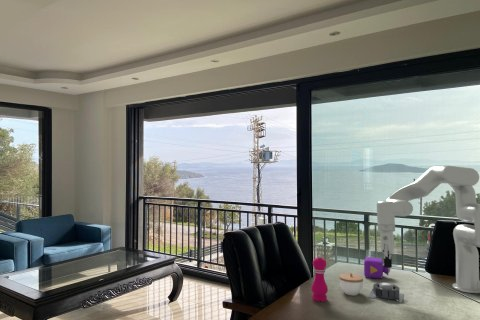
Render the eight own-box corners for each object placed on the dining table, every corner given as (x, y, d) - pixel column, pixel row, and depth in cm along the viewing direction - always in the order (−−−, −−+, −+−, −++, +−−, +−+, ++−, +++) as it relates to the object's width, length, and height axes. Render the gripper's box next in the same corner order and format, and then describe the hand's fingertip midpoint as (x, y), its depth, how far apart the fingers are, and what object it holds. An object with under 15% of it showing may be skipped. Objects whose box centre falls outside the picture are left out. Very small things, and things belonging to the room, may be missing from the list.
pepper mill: (328, 297, 161) (328, 253, 162) (327, 302, 155) (326, 256, 155) (312, 295, 164) (312, 252, 164) (310, 300, 157) (310, 255, 157)
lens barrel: (403, 294, 165) (403, 285, 166) (402, 303, 155) (401, 293, 155) (372, 289, 172) (372, 280, 172) (368, 297, 162) (368, 287, 162)
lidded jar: (364, 291, 170) (364, 271, 170) (361, 298, 160) (361, 277, 160) (341, 288, 174) (341, 269, 174) (337, 295, 164) (337, 274, 165)
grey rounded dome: (393, 292, 165) (393, 283, 165) (392, 296, 159) (392, 287, 160) (380, 290, 168) (380, 281, 168) (378, 294, 162) (378, 284, 162)
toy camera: (392, 280, 187) (392, 261, 187) (365, 278, 190) (364, 260, 190) (387, 274, 198) (387, 256, 198) (362, 273, 200) (362, 255, 201)
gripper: (393, 230, 156) (395, 272, 156) (396, 225, 169) (398, 263, 169) (375, 229, 160) (377, 270, 159) (379, 224, 173) (381, 262, 172)
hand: (388, 267), depth 164 cm, fingers closed
